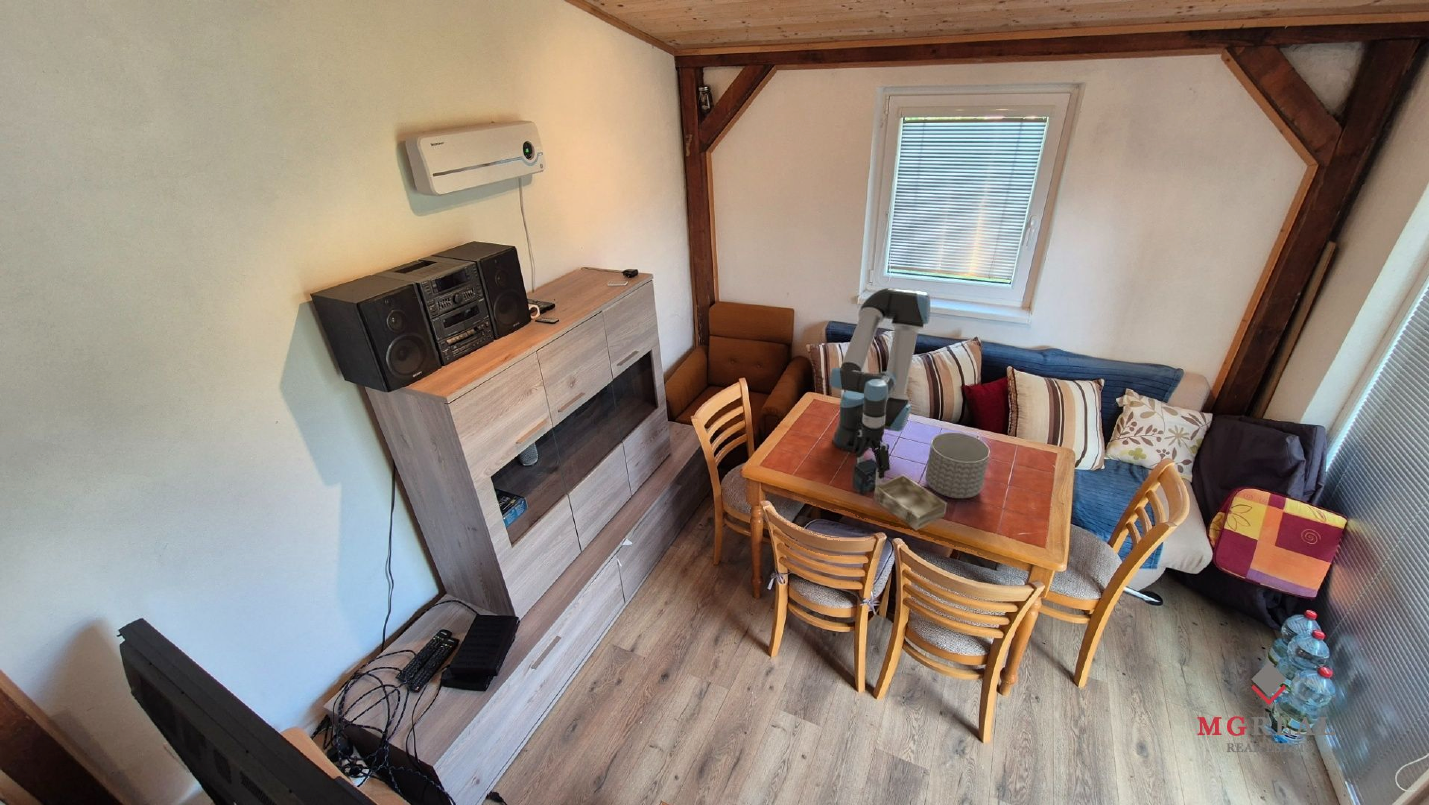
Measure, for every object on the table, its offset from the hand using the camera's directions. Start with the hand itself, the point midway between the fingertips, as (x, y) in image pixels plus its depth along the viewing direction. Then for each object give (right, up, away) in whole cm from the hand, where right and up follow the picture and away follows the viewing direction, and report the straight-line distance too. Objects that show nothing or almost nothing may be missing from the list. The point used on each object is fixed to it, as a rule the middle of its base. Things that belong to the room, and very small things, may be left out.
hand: (869, 478), depth 203 cm
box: (0, -5, +4) cm, 6 cm away
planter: (+31, -4, +2) cm, 31 cm away
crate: (+12, -9, -6) cm, 17 cm away
